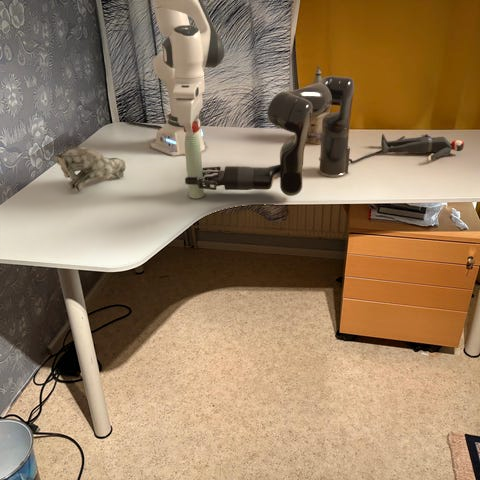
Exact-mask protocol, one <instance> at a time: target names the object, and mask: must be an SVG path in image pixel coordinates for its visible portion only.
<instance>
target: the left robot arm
mask: <svg viewBox="0 0 480 480" xmlns="http://www.w3.org/2000/svg"><path fill="white" fill-rule="evenodd" d="M152 4H153V9H154V14H155V19H156V22H157V27H158V31H159V32H160V34H161V35H163V36H164V37H165V39H164V41H163V42H162V43H161V45H162V51H161V52H159V53H158V54H157V55H156V56H155V57H154V58H153V62H152V69H153V72H154V74H155V76H156V77H157V78H158V79H159V80H161V82H163V84H164V87H165V88H166V90H167V94H168V99H169V106H170V107H169V108H170V109H169V110H170V113H168V114H167V115H165V119H166V120H167V123H166V124H164V125H163V126H161V125H157V124H156V125H155V124H147V123H141V122H134V121H131V119H132V115H131V114H129V115H128V117H127V122H128V123H129V124H131V125H134V126H141V127H147V128H156V129H158V130H157V131H156V134H155V135H156V136H155V137H156V138H155V141H153V142H151V144H150V148H152V149H154V150H157V151H159V152H161V153H164V154H167V155H169V156H174V157H175V156H176V157H177V156H182V155H183V156H186V155H185V136H192V135H193V129H192V123H193V122H195V123H198V125H199V131H197V134H198V136H199V139H200V147H201V152H204V151H205V149H206V145H205V142H204V139H203V138H204V133H203V131H202V130H203V129H202V127H201V126H202V115H201V110H203V106H204V102H203V101H204V99H203V93H204V92H205V91H206V85H205V84H206V83H205V72H204V70H205V68H216V67H218V66H219V65H220V64H221V62H222V61H223V60H224V58H225V46H224V42H223V40H222V37H221V36H220V34H219V33H218V32H217V30H216V28H215V26H214V24H213V22H212V19H211V18H210V15H209V13H208V10H207V9H206V6H205V4H204V2H203V0H152ZM189 17H190V18H191V19H192V20H193V22H194V24H195V26H194V25H191V24H190V21H189ZM183 126H184V127H185V130H186V132H184V127H183Z"/></svg>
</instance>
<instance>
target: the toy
mask: <svg viewBox="0 0 480 480" xmlns="http://www.w3.org/2000/svg"><path fill="white" fill-rule="evenodd" d="M420 135H421V136H418V137H410V138H409V137H408V138H403V139H402V140H398V139H397V140H387V138H386V136H385V134H384V133H382V134H381V140H380V141H381V143H380V147H381V150H382V152H381V154H382V155H386V154H391V153H395V154H401V153H402V154H403V153H408V154H416V153H417V154H426V153H431V154H430V155H428V156H427V160H428V161H429V162H430V161H433V160H435V159H437V158H438V157H441V156H443V157H444V156H448V155H450V154H451V151H452V150H453V151H455V152H461V151H463V150H464V147H465V142H464V141H462V140H452V141H451V142H450V141H449V140H448V139H447V138H446V137H445V136H433V137H432V136H431V135H429V134H427V133H425V134H423V133H422V134H420ZM388 146H389V147H388ZM390 146H391V147H390ZM433 152H434V153H433Z"/></svg>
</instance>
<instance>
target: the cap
mask: <svg viewBox="0 0 480 480" xmlns="http://www.w3.org/2000/svg"><path fill="white" fill-rule="evenodd" d="M183 127H184V126H183ZM192 129H193V133H194V132H197V131H199V125H198V123H195V122H193V123H192ZM184 132H186V130H185V127H184Z"/></svg>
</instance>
